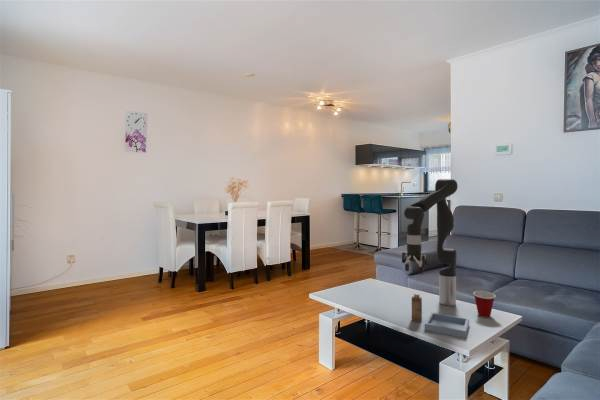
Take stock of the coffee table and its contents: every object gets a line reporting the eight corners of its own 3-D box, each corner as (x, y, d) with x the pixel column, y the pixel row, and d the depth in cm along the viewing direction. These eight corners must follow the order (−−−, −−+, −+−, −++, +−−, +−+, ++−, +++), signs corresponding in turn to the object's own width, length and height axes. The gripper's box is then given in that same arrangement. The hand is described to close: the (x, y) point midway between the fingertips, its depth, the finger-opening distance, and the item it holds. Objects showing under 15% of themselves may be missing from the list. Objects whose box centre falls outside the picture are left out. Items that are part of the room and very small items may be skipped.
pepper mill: (412, 318, 179) (412, 292, 179) (422, 319, 176) (422, 294, 176) (410, 321, 175) (410, 295, 175) (420, 323, 172) (420, 296, 172)
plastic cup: (474, 317, 179) (474, 295, 179) (471, 311, 189) (471, 290, 189) (497, 320, 175) (497, 297, 175) (493, 313, 186) (493, 291, 185)
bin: (431, 318, 178) (431, 312, 178) (469, 325, 169) (469, 318, 169) (424, 330, 163) (424, 323, 163) (465, 338, 154) (465, 331, 154)
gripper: (399, 242, 188) (399, 271, 188) (421, 245, 177) (421, 275, 177) (407, 241, 193) (407, 269, 193) (429, 243, 182) (429, 273, 182)
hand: (414, 272), depth 185 cm, fingers open, 8 cm apart
